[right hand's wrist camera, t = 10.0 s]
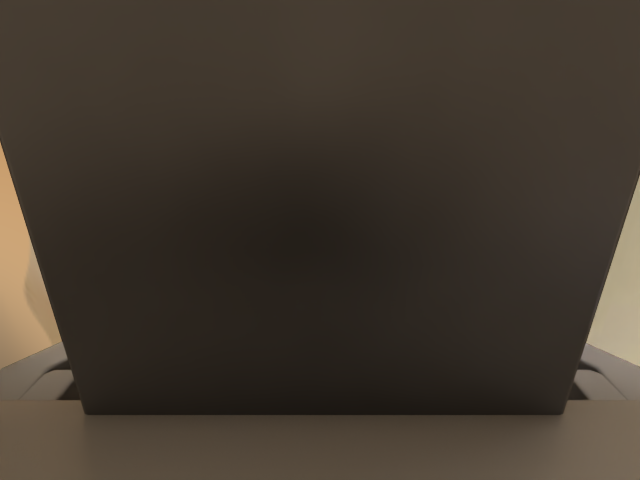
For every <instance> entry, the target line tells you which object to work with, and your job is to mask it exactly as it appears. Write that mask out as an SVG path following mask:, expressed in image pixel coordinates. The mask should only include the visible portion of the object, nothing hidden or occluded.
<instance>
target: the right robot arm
mask: <svg viewBox="0 0 640 480" xmlns="http://www.w3.org/2000/svg"><path fill="white" fill-rule="evenodd" d="M0 480H640V367H639V366H637V365H634V364H632V363H630V362H628V361H625V360H623V359H621V358H619V357H616V356H614V355H612V354H610V353H607V352H605V351H603V350H601V349H598V348H596V347H594V346H592V345H589V344H587V343H586V344H585V347H584V350H583V353H582V356H581V359H580V363H579V366H578V369H577V372H576V375H575V378H574V381H573V384H572V388H571V391H570V394H569V397H568V400H567V403H566V406H565V409H564V413H563V414H561V415H87V414H85V413H84V410H83V407H82V404H81V400H80V397H79V394H78V391H77V388H76V384H75V381H74V378H73V375H72V371H71V368H70V365H69V362H68V358H67V355H66V352H65V349H64V346H63V342H60V343H58V344H55V345H53V346H51V347H49V348H47V349H44V350H42V351H40V352H38V353H35V354H33V355H31V356H29V357H26V358H24V359H22V360H20V361H17V362H15V363H13V364H11V365H8V366H6V367H4V368H2V369H1V370H0Z"/></svg>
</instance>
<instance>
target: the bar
mask: <svg viewBox="0 0 640 480" xmlns="http://www.w3.org/2000/svg"><path fill="white" fill-rule="evenodd" d="M0 142H1V145H2V149H3V152H4V155H5V158H6V161H7V165H8V168H9V171H10V174H11V178H12V181H13V184H14V187H15V190H16V194H17V197H18V200H19V204H20V207H21V210H22V213H23V216H24V220H25V223H26V226H27V229H28V233H29V236H30V239H31V242H32V245H33V249H34V252H35V255H36V258H37V262H38V265H39V268H40V271H41V275H42V278H43V281H44V284H45V287H46V291H47V294H48V297H49V300H50V304H51V307H52V310H53V313H54V317H55V320H56V323H57V326H58V329H59V333H60V336H61V339H62V342H63V346H64V349H65V352H66V355H67V358H68V362H69V365H70V368H71V371H72V375H73V378H74V381H75V384H76V388H77V391H78V394H79V397H80V400H81V404H82V407H83V410H84V413H85V414H87V415H561V414H563V413H564V409H565V406H566V403H567V400H568V397H569V394H570V391H571V388H572V384H573V381H574V378H575V375H576V372H577V369H578V366H579V363H580V359H581V356H582V353H583V350H584V347H585V344H586V341H587V338H588V334H589V331H590V328H591V325H592V322H593V319H594V316H595V313H596V309H597V306H598V303H599V300H600V297H601V294H602V291H603V288H604V285H605V281H606V278H607V275H608V272H609V269H610V266H611V263H612V260H613V256H614V253H615V250H616V247H617V244H618V241H619V238H620V235H621V231H622V228H623V225H624V222H625V219H626V216H627V213H628V210H629V206H630V203H631V200H632V197H633V194H634V191H635V188H636V185H637V181H638V178H639V175H640V0H0Z"/></svg>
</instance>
